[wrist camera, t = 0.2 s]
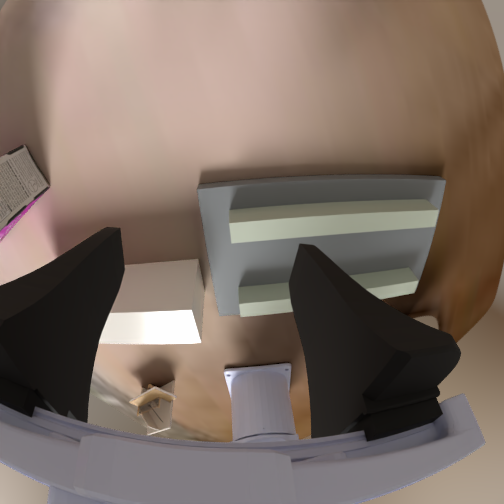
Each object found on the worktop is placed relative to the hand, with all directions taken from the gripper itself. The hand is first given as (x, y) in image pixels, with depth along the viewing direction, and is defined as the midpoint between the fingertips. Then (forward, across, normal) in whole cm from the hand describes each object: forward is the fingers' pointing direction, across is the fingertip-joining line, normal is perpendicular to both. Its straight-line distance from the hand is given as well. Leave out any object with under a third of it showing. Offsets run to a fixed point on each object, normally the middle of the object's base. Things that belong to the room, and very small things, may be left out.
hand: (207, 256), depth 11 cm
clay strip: (+10, +7, +10) cm, 16 cm away
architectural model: (+10, +6, +28) cm, 31 cm away
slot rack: (+10, -10, +4) cm, 14 cm away
